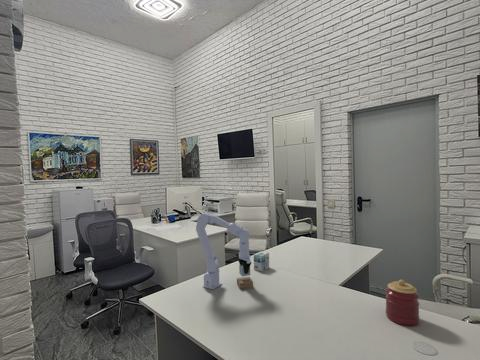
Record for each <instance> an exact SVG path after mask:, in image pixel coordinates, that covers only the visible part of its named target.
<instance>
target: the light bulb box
mask: <svg viewBox="0 0 480 360" xmlns="http://www.w3.org/2000/svg"><path fill="white" fill-rule="evenodd" d="M269 268H270V252H268V251H263V250H261V251H259V252H256V253H254V254H253V270H254V271H258V272H263V271H265V270H267V269H269Z"/></svg>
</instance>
